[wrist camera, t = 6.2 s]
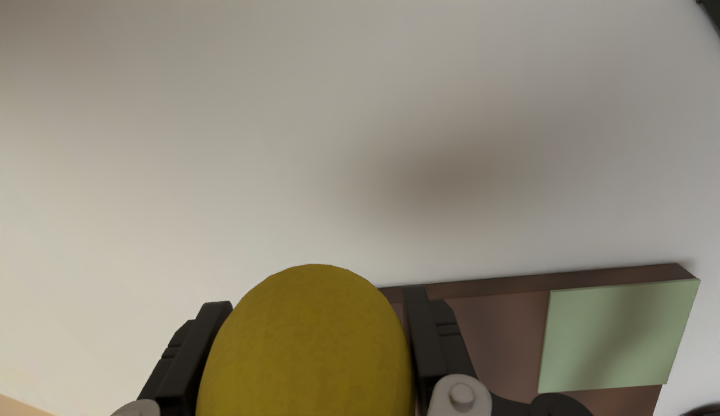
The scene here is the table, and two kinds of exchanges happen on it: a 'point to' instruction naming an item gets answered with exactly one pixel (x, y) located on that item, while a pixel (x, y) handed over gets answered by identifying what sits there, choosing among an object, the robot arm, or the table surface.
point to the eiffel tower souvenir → (712, 9)
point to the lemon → (310, 351)
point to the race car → (713, 414)
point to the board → (573, 333)
